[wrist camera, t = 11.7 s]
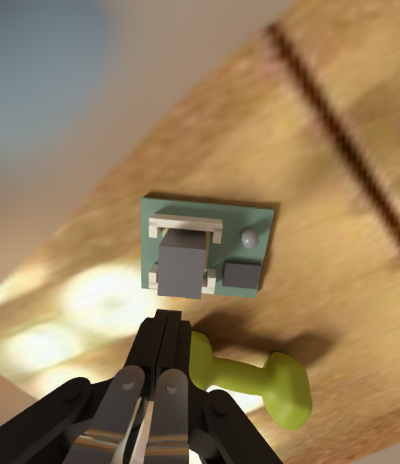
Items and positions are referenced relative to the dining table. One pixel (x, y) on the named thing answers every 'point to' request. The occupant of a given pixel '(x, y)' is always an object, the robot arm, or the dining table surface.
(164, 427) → the robot arm
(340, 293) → the dining table surface
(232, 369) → the dumbbell
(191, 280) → the plug
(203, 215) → the board
